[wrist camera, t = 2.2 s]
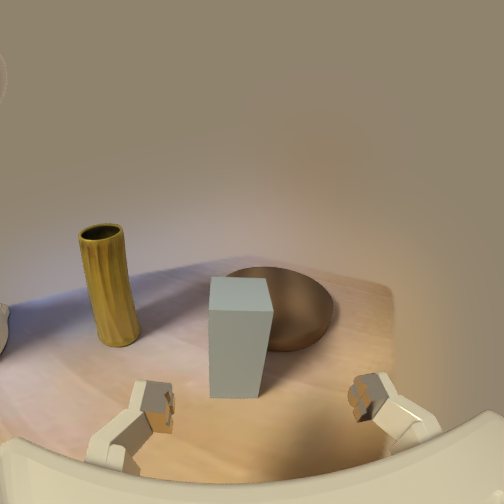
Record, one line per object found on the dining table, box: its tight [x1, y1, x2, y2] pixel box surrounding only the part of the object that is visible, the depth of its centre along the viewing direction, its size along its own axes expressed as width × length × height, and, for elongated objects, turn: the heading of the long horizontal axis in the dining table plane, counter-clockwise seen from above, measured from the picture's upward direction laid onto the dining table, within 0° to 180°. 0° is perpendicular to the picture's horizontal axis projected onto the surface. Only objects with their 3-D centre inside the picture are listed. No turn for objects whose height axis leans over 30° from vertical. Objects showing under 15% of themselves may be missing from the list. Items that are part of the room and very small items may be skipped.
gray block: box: [209, 276, 274, 398], centre depth 25 cm, size 5×5×12 cm
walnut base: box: [226, 267, 333, 352], centre depth 40 cm, size 17×17×3 cm
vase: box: [78, 223, 140, 347], centre depth 29 cm, size 6×6×14 cm
